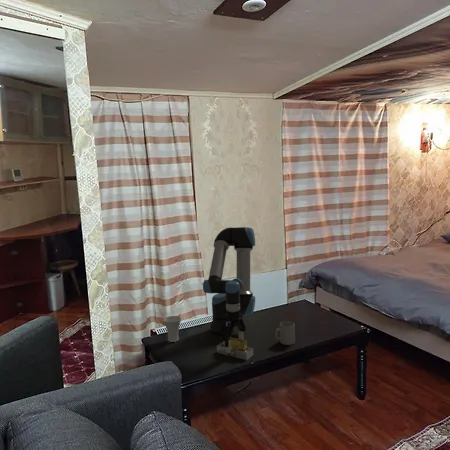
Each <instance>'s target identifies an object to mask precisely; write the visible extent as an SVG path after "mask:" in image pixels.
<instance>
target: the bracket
mask: <svg viewBox="0 0 450 450" xmlns="http://www.w3.org/2000/svg"><path fill="white" fill-rule="evenodd" d="M230 351H231V352H230V353H228V352H226V351H225V346H224V345H223V341H222V342H220V343H219V344H217V345H216V352H217V354H221V355H225V356H228V357H233V358H237V359H240V360H245V361H249V359H250V358H251V357H253V356H254V347H251V346H247V350H246V351H241V350H240V349H236V350H235V352H232V347H230Z"/></svg>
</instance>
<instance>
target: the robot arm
mask: <svg viewBox="0 0 450 450" xmlns="http://www.w3.org/2000/svg"><path fill="white" fill-rule="evenodd" d="M255 246H256V237H255V231H254V229H253V228H252V227H246V226H245V227H241V226H240V227H225V228H224V229H223V230H221V231H220V232H219V233H218V234H217V235H216V236H215V238H214V241H213V248H214V250H213V253H212V254H213V255H212V259H211V262H210V263H211V265H210V269H209V273H208V279H204V280H203V283H202V289H203V293H206V294H214V295H213V296H212V297H211V306H212V307H211V312H212V321H211V324H210V333H211V334H213V335H218V336H222V339H221V341H222V342H223V341H225V351H226V352H228V353H230V352H231V351H230V341H229V339H230V337H232V333H234V332H235V328H237V329H238V339H242V340H245V339H244V337H245V336H244V332H245V331H246V329H247V327H246V324H245V322H244V319H243V316H244V317H245V316H252V315H253V313H254V312H255V307H256V296H255V295H254V293H253V292H252V291H251V252H252V250H253V249H254V248H253V247H255ZM230 247H233V250H235V252H236V278H233V279H222V278H223V274H224V267H225V263H226V262H225V261H226V255H227V251H228V249H229V248H230Z"/></svg>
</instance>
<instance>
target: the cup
mask: <svg viewBox="0 0 450 450" xmlns="http://www.w3.org/2000/svg"><path fill="white" fill-rule="evenodd" d="M162 321H163V323H164V326H165V328H166V331H167V337H168V338H167V342H168V341H170V342H175V343H177V342H176V341H178V340H179V341H180V337H179V331H180V330H179V329H180V325H181V322H182V318H181V316H177V315H170V316H169V315H168V316H166V317H164V318H163V320H162ZM179 341H178V342H179ZM170 342H169V343H170Z"/></svg>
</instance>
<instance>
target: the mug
mask: <svg viewBox="0 0 450 450" xmlns="http://www.w3.org/2000/svg"><path fill="white" fill-rule="evenodd" d="M295 327H296V325H295V323H294V322H293V321H288V320H287V321H285V320H284V321H282V322H280V323H279V327H278V328H276V329H275V332H274V334H275V339H276V340H278V341H279V343H280V344H282V345H284V346H291V345H294V344H295V343H296V334H295V333H296V330H295V329H296V328H295ZM278 332H279V336H278Z"/></svg>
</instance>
